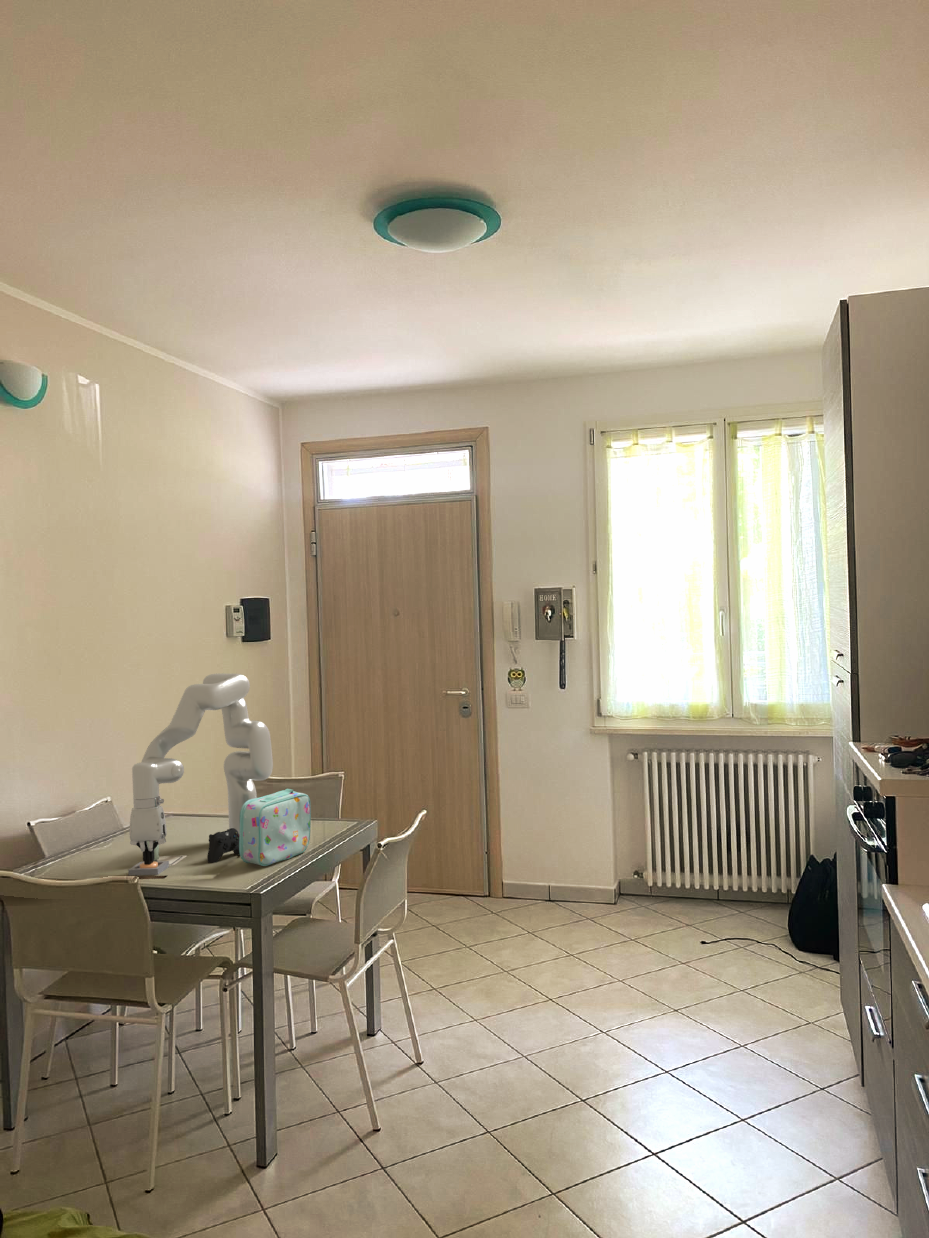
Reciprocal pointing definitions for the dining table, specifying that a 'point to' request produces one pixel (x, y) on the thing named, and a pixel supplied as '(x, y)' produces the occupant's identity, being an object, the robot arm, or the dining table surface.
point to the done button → (152, 865)
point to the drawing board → (172, 861)
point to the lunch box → (274, 827)
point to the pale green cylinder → (155, 852)
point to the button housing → (148, 869)
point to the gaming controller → (223, 844)
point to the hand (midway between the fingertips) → (148, 863)
